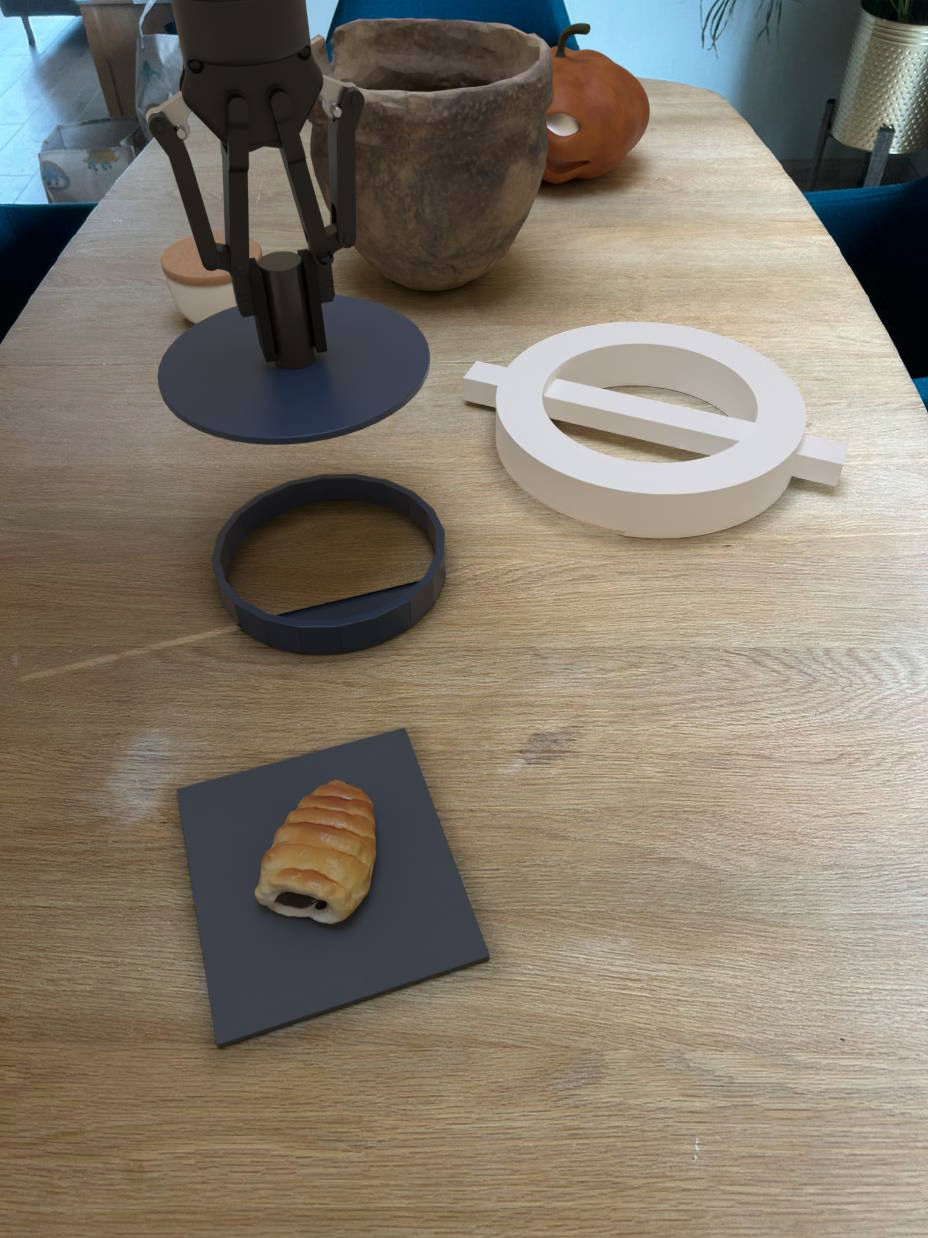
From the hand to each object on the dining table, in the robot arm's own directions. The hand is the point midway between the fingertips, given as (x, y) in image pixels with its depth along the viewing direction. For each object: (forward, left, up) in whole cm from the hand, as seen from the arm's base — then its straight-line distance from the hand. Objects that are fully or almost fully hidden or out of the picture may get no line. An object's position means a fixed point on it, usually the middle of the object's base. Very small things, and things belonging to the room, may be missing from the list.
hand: (293, 347), depth 72 cm
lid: (0, 0, -2) cm, 2 cm away
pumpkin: (-68, +49, -19) cm, 86 cm away
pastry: (+31, -7, -18) cm, 37 cm away
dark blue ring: (+4, 0, -18) cm, 19 cm away
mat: (+31, -7, -18) cm, 37 cm away
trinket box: (-41, -2, -19) cm, 45 cm away
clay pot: (-42, +23, -19) cm, 51 cm away
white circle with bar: (-4, +32, -19) cm, 37 cm away
